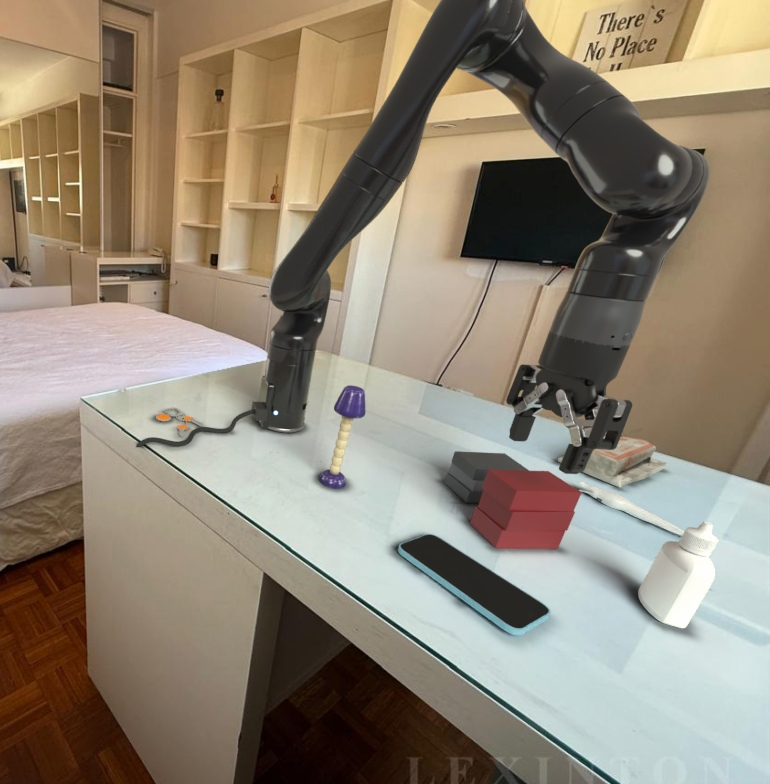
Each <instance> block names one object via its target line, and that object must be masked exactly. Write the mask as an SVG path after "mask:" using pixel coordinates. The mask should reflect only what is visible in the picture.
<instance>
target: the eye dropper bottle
mask: <svg viewBox="0 0 770 784" xmlns="http://www.w3.org/2000/svg"><path fill="white" fill-rule="evenodd" d="M713 528H714V524H713V523H711V522H709V521H705V520H704V521H702V523H701V524H699V526H698V527H693V526H690V527H686V528H685V530H684V531H685V532H684V534H683V535H681V537H680V539H679V541H674V540H668V541H665V542H664V543H663V544H662V546H661V547H660V548H659V551H658V552H657V554H656V556H655V557H654V560H653V561H652V564H651V565H650V567H649V569H648V571H647V573H646V574H645V577H644V578H643V580H642V583H641V584H640V585H639V588H638V590H637V594H638V595H637V596H638V599H639V601H640V603H641V605H642V606H643V608H644V609H645V610H646V611H647V612H648V613H649V614H650V615H651V616H652V617H653V618H655V619H656V620H657V621H659V622H660V623H662V624H664V625H668V626H672V627H674V628H675V627H676V628H679V629H685V628H687V627H688V625H689V623H690V622H691V620H692V619H693V617H694V616H695V614H696V612H697V610H698V608H699V607H700V605H701V603H702V602H703V600H704V598H705V596H706V595H707V594H708V592H709V590H710V588H711V586H712V584H713V582H714V581H715V578H716V568H715V565H714V563H713V560H712V559H711V557H710V556H711V555H712V553H713V551H715V550H714V549H715V548H716V546H717V545H718V544H719V540H720V539H719V538H718V537H717V536H715V534H713Z"/></svg>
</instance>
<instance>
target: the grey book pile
mask: <svg viewBox="0 0 770 784" xmlns="http://www.w3.org/2000/svg"><path fill="white" fill-rule="evenodd" d="M488 470H524V471H530V470H529V469H528V468H526V467H525V466H524V465H522V464H521V463H519V462H518V461H517V460H515V459H514V458H512V457H511V456H509V455H508V454H507V453H503V452H502V453H501V452H482V451H461V450H458V451H457V450H455V451H454V452H453V455H452V458H451V463H450V467H449V470H448V472H446V474H445V477H444V481H443V483H444V484H445V485H446V486H447V487H448V488H449V489H450V490H451V491H453V492H454V493H455V494H456V495H457V496H458V497H459V498H461V500H463V501H464V502H465V503H466V504H468V503H469V504H479V502H480V499H481V496H482V493H483V490H484V489H482V486H483V483H484V480H485V477H486V474H487V471H488Z"/></svg>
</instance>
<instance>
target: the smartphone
mask: <svg viewBox="0 0 770 784" xmlns="http://www.w3.org/2000/svg"><path fill="white" fill-rule="evenodd" d="M397 548H398V549H397V552H398V554H399V555H400V556H401V557H402V558H404V559H406V560H407V561H408V562H410V563H411V564H412V565H414V566H415V567H416V568H418V569H419V570H421V571H422V572H424V574H426V575H428V576H429V577H430V578H432V579H433V580H434V581H436V582H437V583H439V584H440V585H441V586H443V587H444V588H445V589H447V590H448V591H449V592H450V593H452V594H454V595H455V596H456V597H458V598H459V599H460V600H462V601H463V602H465V603H466V604H467V605H468V606H470V607H472V608H473V609H474V610H476V611H477V612H478V613H480V614H481V615H483V616H484V617H485V618H487V620H489V621H491V622H492V623H494V624H495V625H496V626H497V627H499V628H500V629H502V630H503V631H505V632H507V634H508V633H509V634H511V635H513V636H522V635H524V634H525V633H527V632H529V631H531V630H532V629H534V628H536V627H537V626H539V625H541V624H543V623H544V622H546V621H547V620H549V617H550V616H551V613H552V610H551V609H550V608H549V607H548V605H546V604H545V603H544V602H542V601H540V600H538V599H537V598H536V597H534V596H532V595H531V594H530V593H528V592H526V591H525V590H523V589H521V588H520V587H518V586H517V585H515V584H513V583H512V582H510V581H509V580H508V579H505V578H504V577H503V576H501V575H499V574H498V573H496V572H495V571H493V570H492V569H490V568H488V567H487V566H486V565H484V564H482V563H481V562H479V561H477V560H476V559H474V558H473V557H471V556H469V555H468V554H466V553H465V552H463V551H462V550H460V549H459V548H457V547H455V546H453V545H452V544H451V543H449V542H448V541H446V540H444V539H443V538H442V537H440V536H437V535H436V534H434V533H433V534H432V533H426V534H423V535H420V536H417V537H415V538H412V539H409V540H406V541H403V542H400V543H399V545H398V547H397Z"/></svg>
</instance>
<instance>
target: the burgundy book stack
mask: <svg viewBox="0 0 770 784" xmlns="http://www.w3.org/2000/svg"><path fill="white" fill-rule="evenodd" d="M575 514H576V511H575V510H574V511H573V512H562V511H509V510H508V509H507V508H506V507H504V506H503V505H502V504H501V503H500V502H498V501H497V500H496V499H495V498H493V497H492V496H491V495H490V494H489V493H487V492H486V491H485V490H483V493H482V496H481V499H480V502H479V503H478V505H477V506H475V507H474V510H473V513H472V516H471V519H470V522H469V524H470V525H471V526H472V527H473V528H474V529H475V530H476V531H477V532H478V533H479V534H480V535H481V536H482V537H483V538H484V539H485V540H486V541H487V542H488V543H489V544H490V545H491V546H492V547H493V548H494V549H507V550H508V549H509V550H511V549H512V550H514V549H515V550H517V549H518V550H519V549H520V550H522V549H523V550H558V549H559V547H560V545H561V543H562V540H563V539H564V536H565V533H566V532H567V531H568V529H569V527H570V525H571V523H572V521H573V519H574V516H575Z"/></svg>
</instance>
